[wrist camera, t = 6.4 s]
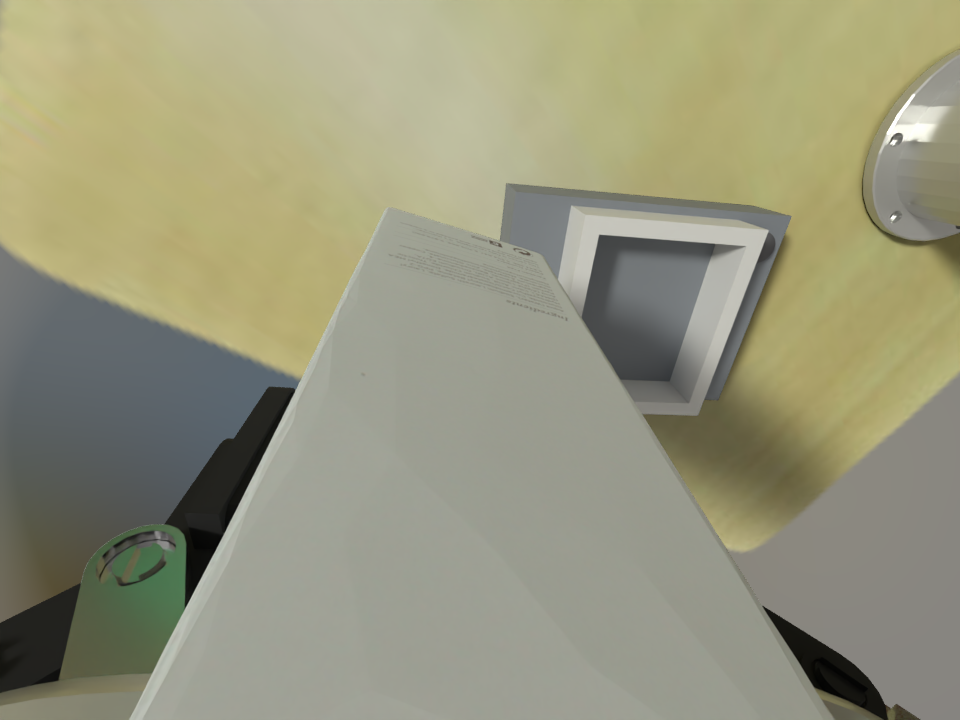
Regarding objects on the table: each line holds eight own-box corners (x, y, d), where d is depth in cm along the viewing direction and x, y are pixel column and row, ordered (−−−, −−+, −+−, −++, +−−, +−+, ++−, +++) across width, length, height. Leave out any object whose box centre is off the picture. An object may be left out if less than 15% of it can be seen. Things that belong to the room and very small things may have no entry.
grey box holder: (753, 205, 32) (827, 226, 26) (692, 374, 39) (740, 422, 33) (506, 183, 30) (524, 199, 24) (485, 366, 37) (495, 415, 31)
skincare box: (386, 201, 15) (-68, 781, 2) (554, 254, 16) (990, 843, 3) (342, 405, 19) (83, 1083, 6) (481, 436, 20) (539, 1059, 7)
